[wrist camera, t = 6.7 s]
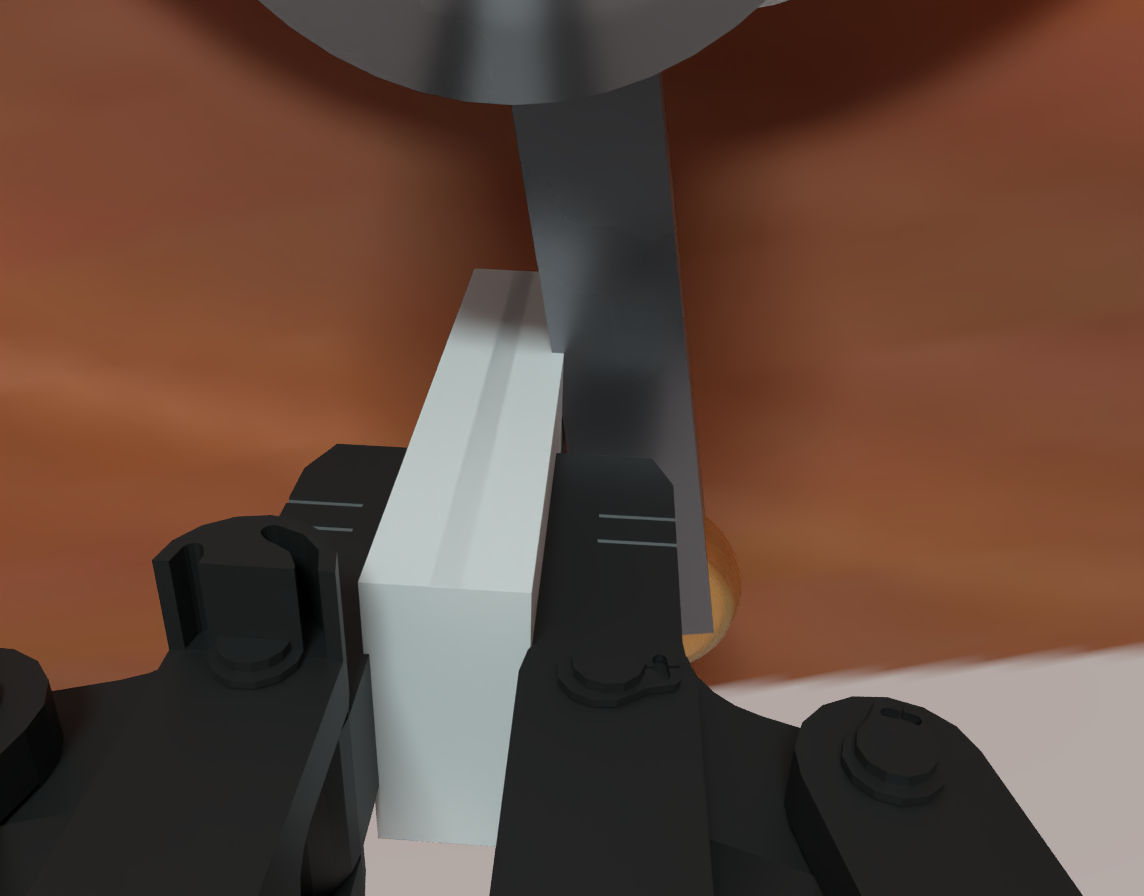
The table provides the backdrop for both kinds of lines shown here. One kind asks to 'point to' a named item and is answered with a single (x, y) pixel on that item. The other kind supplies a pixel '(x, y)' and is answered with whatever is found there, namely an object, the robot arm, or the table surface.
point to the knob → (583, 211)
